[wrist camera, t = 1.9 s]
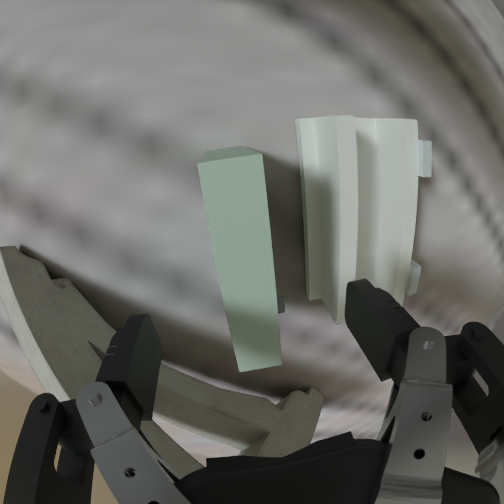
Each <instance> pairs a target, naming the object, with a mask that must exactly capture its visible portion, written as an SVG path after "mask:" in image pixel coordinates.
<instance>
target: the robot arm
mask: <svg viewBox="0 0 504 504" xmlns="http://www.w3.org/2000/svg"><path fill="white" fill-rule="evenodd" d="M344 314H345V321H346V324H347V326H348V328H349V330H350V331H351V333H352V335H353V336H354V338H355V339H356V341H357V342H358V344H359V346H360V347H361V349H362V351H363V352H364V354H365V355H366V357H367V359H368V360H369V362H370V364H371V365H372V367H373V369H374V370H375V372H376V373H377V375H378V377H379V378H380V380H381V382H382V381H384V380H387V379H390V378H392V380H393V381H394V383H393V386H392V389H391V394H390V398H389V402H388V406H387V410H386V414H385V417H384V421H383V424H382V427H381V430H380V432H379V434H378V437H377V439H376V440H374V439H354V438H353V436H352V434H351V431H350V432H347V433H343V434H340V435H337V436H334V437H330V438H327V439H323V440H319V441H316V442H314V443H312V444H310V445H308V446H306V447H304V448H302V449H300V450H298V451H295V452H293V453H291V454H289V455H286V456H284V457H258V456H245V455H240V456H230V457H218V458H206V462H207V467H204V468H201V469H198V470H195V471H193V472H191V473H189V474H187V475H186V476H184V477H183V478H180V477H179V476H178V475H177V474H176V473H175V472H174V471H173V469H172V468H171V467H170V466H169V465H168V464H167V463H166V462H165V460H164V459H163V458H162V457H161V455H160V454H159V453H158V451H157V450H156V449H155V448H154V446H153V445H152V444H151V442H150V441H149V439H148V438H147V437H146V435H145V434H144V432H143V431H142V430H141V429H140V427H141V421H152V416H153V408H154V402H155V395H156V388H157V382H158V376H159V370H160V365H161V359H162V348H161V344H160V341H159V338H158V336H157V334H156V331H155V328H154V326H153V323H152V321H151V318H150V316H149V315H148V314H138V315H130V316H129V317H128V319H127V322H126V324H125V327H124V328H120V329H119V330H118V331H117V332H116V333H115V334H114V336H113V337H112V339H111V341H110V344H109V348H108V349H107V351H106V356H104V359H103V361H102V364H101V366H100V369H99V372H98V374H97V377H96V380H95V382H92V383H89V384H87V385H85V386H84V387H83V388H82V389H81V390H80V391H79V392H78V394H77V397H76V399H71V400H67V401H62V402H59V400H58V399H57V398H56V397H55V396H54V395H53V394H51V393H43V394H40V395H38V396H37V397H36V398H35V399H34V400H33V401H32V403H31V405H30V407H29V410H28V412H27V415H26V418H25V421H24V424H23V426H22V429H21V432H20V435H19V438H18V442H17V445H16V449H15V452H14V455H13V459H12V463H11V467H10V471H9V475H8V480H7V485H6V490H5V496H4V502H3V504H91V503H90V502H91V491H92V480H93V471H94V464H95V463H96V465H97V467H98V469H99V470H100V472H101V474H102V476H103V478H104V479H105V481H106V483H107V485H108V487H109V488H110V490H111V492H112V493H113V495H114V497H115V498H116V500H117V501H118V503H119V504H503V503H504V345H503V344H502V343H501V341H499V339H498V338H497V337H496V336H495V335H494V334H493V333H492V332H491V331H490V330H489V328H487V327H486V326H485V325H483V324H481V323H479V322H468V323H466V324H465V325H464V326H463V328H462V330H461V333H460V334H459V335H451V336H444V335H443V334H442V333H441V332H440V331H438V330H437V329H435V328H432V327H420V325H419V324H418V323H417V322H416V321H415V320H414V319H413V318H412V317H411V316H410V314H409V313H408V312H407V311H406V310H405V309H404V308H403V307H401V305H400V304H399V303H398V302H397V301H396V300H395V299H394V298H393V297H392V295H391V294H390V293H389V292H387V291H385V290H383V289H381V288H379V287H378V288H375V287H374V286H373V285H372V284H371V283H370V282H369V281H368V280H367V279H366V278H364V279H359V280H355V281H350V282H348V283H347V288H346V301H345V313H344ZM476 370H477V371H478V373H479V374H480V375H481V377H482V378H483V380H484V381H485V382H486V384H487V385H488V388H489V394H488V397H487V396H486V394H485V392H484V391H483V389H482V388H481V387H480V385H479V384H478V383H477V381H476V380H475V378H474V377H473V375H474V373H475V372H476ZM452 408H453V409H454V411H455V413H456V414H457V416H458V418H459V419H460V421H461V423H462V425H463V426H464V428H465V430H466V432H467V433H468V435H469V437H470V439H471V441H472V443H473V445H474V447H475V449H476V450H477V452H478V454H479V457H478V465H477V466H476V468H475V473H476V475H477V476H480V478H477V477H474V476H471V475H468V474H465V473H462V472H459V471H456V470H453V469H450V468H447V467H444V466H445V460H446V455H447V448H448V442H449V434H450V425H451V414H452ZM58 444H59V445H60V446H62V447H61V452H60V456H59V461H58V467H57V472H56V470H55V467H54V459H55V454H56V450H57V445H58Z"/></svg>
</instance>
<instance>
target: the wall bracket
mask: <svg viewBox="0 0 504 504" xmlns="http://www.w3.org/2000/svg"><path fill="white" fill-rule="evenodd" d="M0 296H1V299H2V302H3V305H4V307H5V310H6V313H7V315H8V318H9V320H10V323H11V325H12V328H13V330H14V333H15V335H16V337H17V339H18V342H19V344H20V346H21V348H22V350H23V352H24V354H25V356H26V358H27V360H28V362H29V364H30V366H31V368H32V370H33V372H34V373H35V375H36V377H37V379H38V381H39V382H40V384H41V386H42V387H43V389H44V391H45V392H46V393H51V394H53V395H54V396H55V397H56V398H57V399H58V400H59V402H62V401H67V400H71V399H76V397H77V394H78V392H79V391H80V390H81V389H82V388H83V387H84V386H85V385H87V384H89V383H92V382H95V380H96V377H97V374H98V372H99V369H100V366H101V364H102V361H103V359H104V356H106V351H107V349H108V348H109V344H110V341H111V339H112V337H113V336H114V334H115V333H116V332H117V331H116V330H114V329H113V328H112V327H110V326H109V325H108V324H107V322H106V321H105V320H104V319H103V318H102V317H101V316H100V315H99V314H98V313H97V312H96V310H95V309H94V308H93V307H92V306H91V305H90V304H89V303H88V301H87V300H86V299H85V298H84V297H83V296H82V294H81V293H80V292H79V291H78V290H77V288H76V287H75V286H74V285H73V283H72V282H71V281H70V280H68V279H67V278H59V279H52V280H51V278H50V276H49V274H48V272H47V270H46V268H45V266H44V264H43V263H42V262H41V261H39V260H37V259H33V258H30V257H28V256H26V255H24V254H22V253H21V252H20V251H19V250H18V249H17V248H16V247H15V246H5V247H0ZM324 399H325V396H324V395H323V394H321V393H320V392H319V391H318V390H316V389H315V388H314V387H310V388H309V389H308V390H307V391H306V392H305V393H304V392H302V391H293V392H291V393H290V394H289V395H288V396H286V397H285V398H284V399H283V400H282V401H280V402H279V403H278V404H277V405H274V404H273V403H272V402H271V401H269V400H268V399H267V398H263V397H258V396H253V395H248V394H243V393H239V392H234V391H230V390H226V389H221V388H218V387H216V386H213V385H211V384H208V383H206V382H203V381H201V380H198V379H196V378H193V377H191V376H189V375H186V374H184V373H182V372H179V371H177V370H175V369H173V368H170V367H168V366H166V365H164V364H162V363H161V365H160V370H159V376H158V382H157V388H156V395H155V402H154V408H153V415H154V416H156V417H158V418H161V419H163V420H165V421H167V422H169V423H171V424H174V425H176V426H178V427H181V428H183V429H186V430H188V431H190V432H193V433H196V434H198V435H201V436H203V437H206V438H209V439H212V440H214V441H217V442H220V443H223V444H226V445H229V446H232V447H234V448H237V449H239V450H241V452H240V453H239V455H238V456H240V455H245V456H258V457H284V456H286V455H289V454H291V453H293V452H295V451H298V450H300V449H302V448H304V447H306V446H308V445H310V443H311V440H312V437H313V434H314V431H315V428H316V425H317V422H318V419H319V416H320V412H321V409H322V406H323V402H324ZM140 429H141V430H142V431H143V432H144V434H145V435H146V437H147V438H148V439H149V441H150V442H151V444H152V445H153V446H154V448H155V449H156V450H157V451H158V453H159V454H160V455H161V457H162V458H163V459H164V460H165V462H166V463H167V464H168V465H169V466H170V467H171V468H172V469H173V471H174V472H175V473H176V474H177V475H178V476H179V477H180V478H183V477H184V476H186V475H187V474H189V473H191V472H193V471H195V470H198V469H201V468H204V466H203V465H202V464H201V463H199V462H198V461H197V460H196V459H194V458H193V457H192V456H191V455H190V454H189V453H187V452H186V451H185V450H184V449H183V448H182V447H181V446H179V445H178V444H177V443H176V442H175V441H174V440H173V439H172V438H171V437H170V436H169V435H168V434H166V433H165V432H164V431H163V430H162V429H161V428H160V427H159V426H158V425H157V424H156V423H155V422H154V421H153V420H152V421H141V427H140Z"/></svg>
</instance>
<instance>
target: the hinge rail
mask: <svg viewBox="0 0 504 504" xmlns="http://www.w3.org/2000/svg"><path fill="white" fill-rule="evenodd" d="M295 125H296V135H297V145H298V155H299V167H300V179H301V193H302V208H303V225H304V246H305V275H306V295H307V297H308V299H309V301H311V300H316V299H321V300H322V301H323V303H324V305H325V306H326V308H327V310H328V311H329V313H330V315H331V317H332V318H333V320H334V322H335V323H336V324H340V323H344V322H346V321H345V314H344V313H345V301H346V288H347V283H348V282H350V281H355V280H359V279H364V278H366V279H367V280H368V281H369V282H370V283H371V284H372V285H373V286H374V287H375V288H378V287H379V288H381V289H383V290H385V291H387V292H389V293H390V294H391V295H392V297H393V298H394V299H395V300H396V301H397V302H398V303H399V304H400V305H401V306H403V301H404V296H405V293H406V294H407V295H408V296H410V295H413V294H416V292H417V288H418V283H419V278H420V273H421V268H422V266H420V265H419V264H418V263H417V262H415V261H414V260H413V259H412V258H411V257H412V250H413V242H414V234H415V224H416V213H417V198H418V176H421V177H431V168H432V146H431V141H428V140H421V139H418V126H417V120H411V119H390V118H382V119H373V118H354V116H342V115H335V116H326V117H318V118H301V119H295Z"/></svg>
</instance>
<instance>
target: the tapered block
mask: <svg viewBox="0 0 504 504" xmlns="http://www.w3.org/2000/svg"><path fill="white" fill-rule="evenodd" d="M197 164H198V171H199V177H200V183H201V189H202V195H203V200H204V206H205V212H206V217H207V223H208V228H209V233H210V239H211V244H212V249H213V254H214V259H215V264H216V269H217V274H218V279H219V284H220V289H221V293H222V298H223V303H224V307H225V312H226V316H227V321H228V325H229V330H230V334H231V339H232V343H233V347H234V351H235V356H236V360H237V364H238V368H239V372H244V371H250V370H256V369H262V368H268V367H273V366H278V365H282V357H281V344H280V331H279V319H278V313H283V312H285V306H284V301H283V297H282V296H279V297H277V295H276V284H275V273H274V262H273V251H272V241H271V231H270V221H269V211H268V202H267V192H266V183H265V174H264V165H263V157H262V154H261V153H259V152H256V151H254V150H251V149H249V148H246V147H244V146H237V147H229V148H223V149H216V150H210V151H206V152H205V153H204V155H203V156H202V158H201V159H200V160H199V162H198V163H197Z"/></svg>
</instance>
